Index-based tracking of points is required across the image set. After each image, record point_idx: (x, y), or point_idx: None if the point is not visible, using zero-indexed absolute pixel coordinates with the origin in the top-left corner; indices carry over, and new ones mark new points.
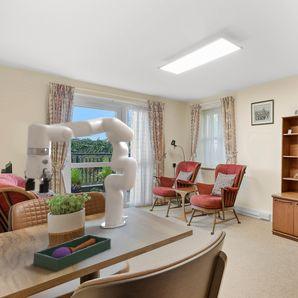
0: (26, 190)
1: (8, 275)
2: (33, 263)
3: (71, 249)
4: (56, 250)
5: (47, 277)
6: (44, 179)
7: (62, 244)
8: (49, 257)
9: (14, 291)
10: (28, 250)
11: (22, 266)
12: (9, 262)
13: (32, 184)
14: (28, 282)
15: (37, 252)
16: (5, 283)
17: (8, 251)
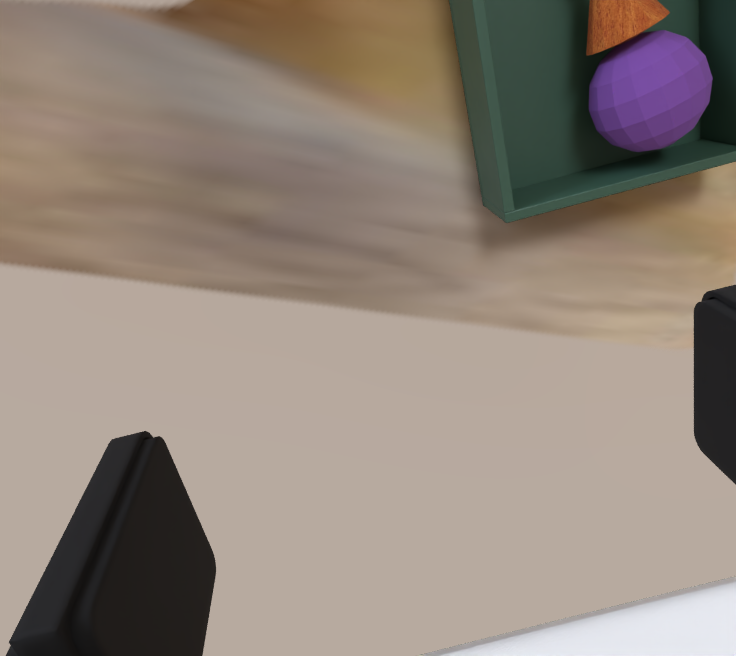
0: (211, 571)
1: (522, 316)
2: (486, 206)
3: (664, 16)
4: (669, 130)
5: (724, 199)
6: None
7: (485, 19)
8: (674, 177)
9: None
10: (184, 164)
11: (460, 250)
12: (333, 285)
13: (138, 600)
14: (690, 272)
15: (512, 203)
16: (604, 338)
17: (104, 257)
